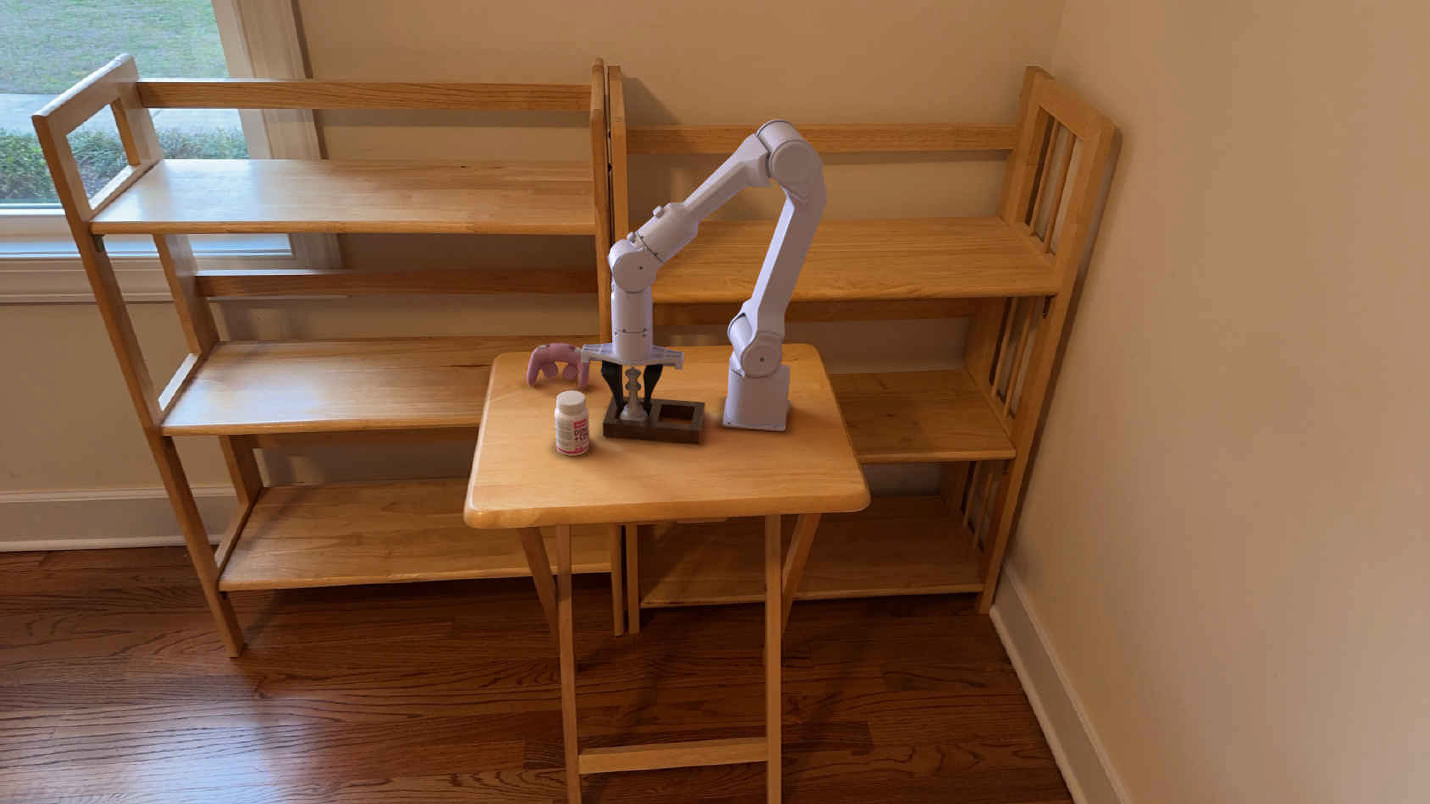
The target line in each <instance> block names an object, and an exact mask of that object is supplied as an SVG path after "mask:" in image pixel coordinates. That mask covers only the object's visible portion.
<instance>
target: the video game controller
mask: <svg viewBox="0 0 1430 804" xmlns="http://www.w3.org/2000/svg"><path fill="white" fill-rule="evenodd" d="M581 351H582V348H580V347H579V346H576V345H574V344H569V343H563V342H554V343H553V342H552V343H547V344H541V345H539V346H538V347H536V348H535V349H534V350H533V351H532V353H531V355H530V359H529V362H528V367H527V372H526V383H527V385H528V386H530V387H532V386H533V385H534V384H535V383H536V381H537V379H538V376H539V374H540V371H542V373H543V375H544V377H546V378H547V379H553V378H557V376H558V374H559V367H558V365H557V364H556V363H557V362H559V363H565V364H566V365H565V366H564V368H563V369H562V376H563V378H564V379H565V380H568V381H572V380H575V379H576V378H577V377H578V378H577V379H578V380H577V383H578V387H579V389H580V390H582V391H583V390H585V389H586V387H587V385H588V382H589V376H590V370H591V369H590V365H591V362H592V361H590V362H589V363H584V362H582V353H581Z"/></svg>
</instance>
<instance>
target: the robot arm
mask: <svg viewBox="0 0 1430 804" xmlns="http://www.w3.org/2000/svg"><path fill="white" fill-rule="evenodd" d="M823 166H824V162H823V160H822V158H821V157H820V155H819V154H818V153H817V151H816V149H815V148H814V146H813V145H812V144H811V143H810V142H809V141H808V140H806V139H805V138H804V137H803V136H802V134H801V133H800V131H799V130H798V128H796V126H795V125H794V124H793V123H792V122H790V121H788V120H786V119H780V118H776V119H771V120H768V121H767V122H765V123H763V124H762V125H761V126H760V128H758V130H757V132H756V133H755V132H754V133H752V134H750V135H749V136H747V137H746V138H745V139H744V141H742V143H741V144H740V145H739V147H738V148H737V149H736V150H735V151H734V153H733V154H732V155H730V157H729V158H727V160H726V161H724V162H723V164H721V165H720V167H718V168H717V169H716V170H715V171H714V172H713V173H712V174H711V175H710V176H709V177H708V178H706V180H705V181H704V182H703V183H702V184H701V185H700V186H699V187H698V188H696V190H694V192H692V193H691V194H690V195H689V196H688V197H686V199H685V200H684V201H683V202H669V203H667V204H666V205H665V206H664V207H662V206H661V205H658V206H657V207H656V208H655V209H654V210H652V213H653V216H652V217H651V218H650V219H649V220H648V221H647V222H645V223H644V224H643V225H641V227H640V228H639V229H638V230H636V231H635V232H633V231H630V232H629V233H628V234H627V235H626V239H624V238H622V239H620V240H618V241H616V242H615V243H614V244H613V245H612V247H611V248H610V252H609V253H608V255H607V257H606V258H607V263H608V267H610V271H611V278H612V279H611V293H610V303H611V304H610V305H611V307H610V308H611V332H612V333H611V336H612V337H611V339H612V340H611V341H612V342H610V343H597V344H585V343H584V344H583V346H582V348H581V349H582V351H581V353H582V362H584V363H589V362H590V361H591V362H601V368H600V374H601V377H602V378H603V379H604V381H605V382H606V383H607V385H608V388H609V389H610V391H611V394H612V396H614V399H615V403H616V407H617V408H621V406H622V403H623V396H624V383H623V370H624V369H623V366H625V367H641V366H645V367H644V370H643V372H642V379H643V391H644V392H643V395H644V396H643V398H644V410H649V407H650V403H651V398H652V395H653V392H654V390H655V388H656V386H657V384H658V382H659V381H660V378H661V377H662V373H663V370H664V367H670V368H674V369H675V370H679V371H683V368H684V362H685V352H684V351H680V350H673V349H671V348H670V349H669V348H665V347H661V346H658V345H654V339H653V338H654V337H653V336H654V332H653V329H654V325H653V321H654V319H653V317H654V316H653V315H654V314H653V310H654V309H653V308H654V306H653V302H654V301H653V299H654V298H653V297H654V296H653V293H652V286H653V284H654V283H655V281H656V278H657V273H658V271H659V269H660V268H661V267H663V266H664V265H665V264H666V263H667V262H668V261H670V260H671V259H673V257H674V256H676V255H677V254H678V253H679V252H680V251H681V250H683V249H684V248H685V247H687V246H688V245H689V243H691V242H693V240H694V239H695V238H697V237H698V231H699V225H700V222H702V221H703V220H704V219H706V218H708V216H710V215H711V214H712V213H714V212H715V211H716V210H718V209H719V208H721V207H722V206H723V205H724V204H726V203H727V202H728V201H729V200H731V199H732V198H733V197H735V196H736V195H737V194H739V193H740V192H741V191H742V190H744V189H745V188H748V187H750V188H751V187H752V188H772V184H771V181H770V179H773V180H774V181H775V182H776V183H777V184H778V185H779V186H780V187H781V189H782V191H783V192H784V195H785V196H786V199H785V202H784V204H783V208H782V210H781V213H780V216H779V219H778V222H777V225H776V227H775V230H774V233H773V236H772V239H771V241H770V244H769V247H768V249H767V252H766V255H765V259H764V261H763V264H762V267H761V270H760V272H759V275H758V277H757V281H756V283H755V286H754V288H753V289H754V290H753V291H752V294H751V298H749V299H748V300H746V301H744V302H743V303H742V306H741V308H740V311H739V312H738V313H737V315H736V316H734V317H733V318H732V320H731V321H730V322H729V325H728V328H727V338H728V340H729V342H730V343H731V345H732V346H733V350H732V353H731V355H730V357H729V360H728V377H727V381H728V382H727V397H725V405H724V411H723V417H722V421H721V422H722V423H721V426H722V427H724V428H733V429H734V428H735V429H745V430H746V429H747V430H757V431H758V430H760V431H773V432H786V427H787V415H788V413H789V412H790V405H791V399H789V395H790V394H789V393H790V379H791V366H790V365H785V364H782V362H783V355H784V354H783V342H784V339H785V336H786V328H785V327H786V324H785V314H786V311H787V309H788V306H789V303H790V300H791V298H792V295H793V293H794V291H795V287H796V285H797V282H798V279H799V276H800V275H801V274H800V273H801V271H802V268H803V267H804V264H805V261H806V259H807V256H808V253H809V251H810V247H811V244H812V243H813V239H814V237H815V235H816V231H817V229H818V226H819V224H820V221H821V218H822V216H823V213H824V210H825V207H826V205H827V202H828V191H827V187H826V181H825V178H824V177H825V176H824V172H823V171H824V170H823ZM591 362H590V363H591Z"/></svg>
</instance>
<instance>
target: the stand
mask: <svg viewBox="0 0 1430 804" xmlns="http://www.w3.org/2000/svg"><path fill="white" fill-rule="evenodd" d="M628 398H629V395H627V396H626V395H623V403H622V406H621V408H617V407H616V403H615V399H614V396H613V395H611V399H610V401H609V404H608V407H607V410H606V412H605V415H604V419H603V421H602V437H603V438H610V439H622V440H623V439H624V440H625V439H626V440H637V441H649V442H661V443H674V444H687V445H700V443H701V437H702V431H703V427H704V422H705V417H706V402H704V401H695V400H694V401H693V400H682V399H681V400H680V399H679V400H678V399H665V398H653V397H651V403H650V407H649V410H644V397H641V396H638V400H639V404H640V405H641V406H642V407H643V410H644V411H645V412H646V413H647V414H648V422H647V421H636V420H623V419H619V416H620V414H621V412H622V411H623V410H624V407H625V406H626V405H627V404H628ZM662 419H674V420H675V419H676V420H687V421H691V424H686V423H674V422H662Z"/></svg>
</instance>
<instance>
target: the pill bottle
mask: <svg viewBox="0 0 1430 804" xmlns="http://www.w3.org/2000/svg"><path fill="white" fill-rule="evenodd" d="M586 401H587V400H586V396H585V394H584V393H582V392H580V391H578V390H566V391H561V392H560V393H559V394H558V395H557V396H556V408H555V410H554V425H555V426H554V427H555V446H556V449H557V451H558V452H559V453H560V454H562V455H565V456H571V457H575V456H576V457H577V456H579V455H582V454H584V453H586V452H587V451H588V450H589V448H590V421H589V419H590V417H589V409H588V407H587V406H586V405H587V402H586Z"/></svg>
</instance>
